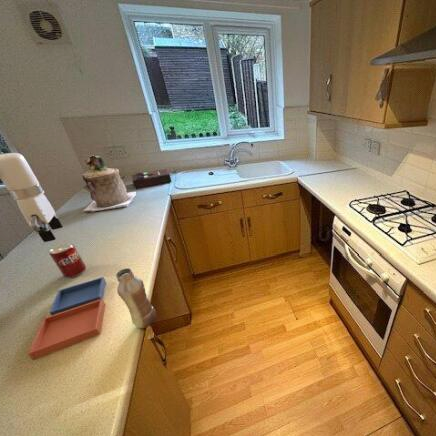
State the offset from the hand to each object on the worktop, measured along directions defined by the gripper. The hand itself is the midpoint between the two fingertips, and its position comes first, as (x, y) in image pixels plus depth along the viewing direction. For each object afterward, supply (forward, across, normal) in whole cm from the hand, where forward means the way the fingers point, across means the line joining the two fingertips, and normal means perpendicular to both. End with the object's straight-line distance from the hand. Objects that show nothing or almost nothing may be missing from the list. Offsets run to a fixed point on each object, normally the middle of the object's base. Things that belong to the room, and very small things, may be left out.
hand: (54, 234), depth 88 cm
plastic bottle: (+18, +42, +24) cm, 52 cm away
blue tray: (+18, +19, +4) cm, 27 cm away
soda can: (+18, 0, -1) cm, 18 cm away
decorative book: (+19, -104, +31) cm, 110 cm away
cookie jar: (+19, -75, +6) cm, 78 cm away
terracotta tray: (+18, +33, +4) cm, 38 cm away
